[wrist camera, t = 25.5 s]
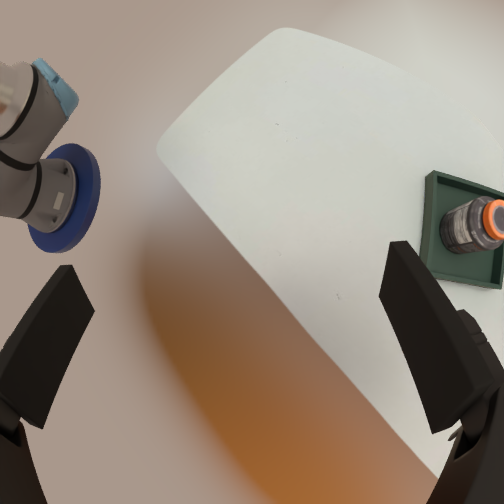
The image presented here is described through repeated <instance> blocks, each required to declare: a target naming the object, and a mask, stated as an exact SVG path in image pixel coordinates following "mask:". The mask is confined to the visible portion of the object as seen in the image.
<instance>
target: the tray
mask: <svg viewBox="0 0 504 504" xmlns="http://www.w3.org/2000/svg"><path fill="white" fill-rule="evenodd" d="M481 196H488V197H491V198H493V199H495V200H498V199H499V200H503V201H504V193H502V192H500V191H497V190H494V189H492V188H489V187H486V186H483V185H480V184H477V183H474V182H471V181H468V180H465V179H462V178H459V177H455V176H452V175H449V174H445V173H442V172H438V171H435V170H433V171H432V172H431V173H430V174H428V175H427V176H426V177H425V202H424V217H423V228H422V238H421V247H420V255H419V257H420V259H421V260H422V261H423V263H424V264H425V265H426V267H427V268H428V270H429V271H430V272H431V274H432V275H433V277H434V278H436V279H442V280H447V281H453V282H458V283H464V284H469V285H475V286H480V287H486V288H491V289H502V282H503V275H504V241H503V243H502V244H501V245H500V246H499V247H498V248H496V249H494V250H488V251H481V252H472V253H465V254H455V253H452V252H451V251H449V250H448V249H447V248H446V247H445V245H444V244H443V242H442V239H441V236H440V224H441V220H442V218H443V216H444V215H445V214H446V213H447V212H448V211H450V210H452V209H454V208H457V207H459V206H461V205H463V204H465V203H467V202H469V201H471V200H473V199H476V198H478V197H481Z"/></svg>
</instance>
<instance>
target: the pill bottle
mask: <svg viewBox="0 0 504 504" xmlns="http://www.w3.org/2000/svg"><path fill="white" fill-rule="evenodd" d="M440 236H441V239H442V242H443V244H444V245H445V247H446V248H447V249H448V250H449V251H451V252H452V253H455V254H465V253H472V252H481V251H488V250H494V249H496V248H498V247H499V246H500V245H501V244H502V243H503V241H504V201H503V200H499V199H498V200H495V199H493V198H491V197H488V196H481V197H478V198H476V199H473V200H471V201H469V202H467V203H465V204H463V205H461V206H459V207H457V208H454V209H452V210H450V211H448V212H447V213H446V214H445V215H444V216H443V218H442V220H441V224H440Z"/></svg>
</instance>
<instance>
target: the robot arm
mask: <svg viewBox="0 0 504 504" xmlns="http://www.w3.org/2000/svg"><path fill="white" fill-rule="evenodd" d="M78 101H79V98H78V95H77V94H76V93H75V91H74V90H73V89H72V88H71V87H70V86H69V85H68V84H67V83H66V82H65V81H64V80H63V79H62V78H61V77H60V76H59V75H58V74H57V73H56V72H55V71H54V70H53V69H52V68H51V67H50V66H49V65H48V64H47V63H46V62H45V61H44V60H43V59H42V58H38V59H37V60H36V61H34V62H33V63H32V65H30V64H28V63H26V62H19V63H16V64H14V65H12V66H8V65H6V64H4V63H2V62H0V216H5V217H11V218H17V219H22V220H23V221H25V222H26V223H28V224H29V225H31V226H32V227H34V228H35V229H37V230H38V231H40V232H44V233H55V232H57V231H59V230H60V229H62V228H63V227H64V226H65V224H66V223H67V222H68V220H69V219H70V217H71V215H72V213H73V210H74V208H75V205H76V202H77V197H78V191H79V178H78V173H77V170H76V168H75V166H74V165H73V164H72V163H71V162H69V161H66V160H64V159H59V158H56V159H40V157H41V156H42V154H43V153H44V151H45V150H46V149H47V147H48V145H49V144H50V143H51V141H52V140H53V139H54V137H55V136H56V135H57V133H58V132H59V131H60V129H61V128H62V127H63V125H64V124H65V123H66V122H67V121H68V119H69V117H70V115H71V114H72V112H73V111H74V109H75V108H76V107H77V105H78ZM379 298H380V300H381V302H382V305H383V307H384V309H385V311H386V313H387V316H388V318H389V320H390V322H391V325H392V327H393V329H394V332H395V334H396V336H397V339H398V341H399V343H400V346H401V348H402V351H403V353H404V356H405V358H406V361H407V363H408V366H409V368H410V371H411V374H412V376H413V379H414V382H415V384H416V387H417V390H418V393H419V396H420V399H421V401H422V404H423V407H424V410H425V413H426V416H427V420H428V423H429V426H430V429H431V432H432V434H434V433H437V432H440V431H442V430H445V429H448V428H450V427H452V426H453V425H454V424H455V423H456V422H457V421H458V420H459V419H460V421H461V424H462V426H461V427H459V428H458V429H457V430H456V431H455V432H454V433H453V434H452V435H451V436H450V437H449V439H448V441H451V440H452V439H454V438H455V437H456V439H455V441H454V444H453V447H452V449H451V452H450V454H449V457H448V459H447V462H446V464H445V466H444V469H443V471H442V473H441V475H440V477H439V480H438V482H437V484H436V486H435V488H434V490H433V492H432V494H431V496H430V498H429V499H428V501H427V503H426V504H504V369H503V367H502V365H501V363H500V361H499V359H498V358H497V356H496V354H495V352H494V350H493V349H492V347H491V345H490V343H489V342H487V338H486V336H485V335H484V333H482V332H481V331H482V330H481V328H480V327H479V325H478V323H477V322H476V320H475V319H474V318H473V317H472V316H471V315H470V314H469V313H467V312H466V311H465V310H464V309H463V310H458V311H456V310H455V308H454V306H453V305H452V303H451V302H450V300H449V299H448V297H447V296H446V294H445V293H444V291H443V290H442V288H441V287H440V285H439V284H438V282H437V281H436V279H435V278H434V277H433V275H432V274H431V272H430V271H429V270H428V268H427V267H426V265H425V264H424V263H423V261H422V260H421V259H420V257H419V256H418V255H417V253H416V252H415V251H414V249H413V248H412V247H411V245H410V244H409V243H408V242H407V241H395V242H390V245H389V251H388V256H387V261H386V266H385V271H384V275H383V280H382V284H381V289H380V293H379ZM94 312H95V310H94V308H93V307H92V305H91V303H90V301H89V299H88V297H87V295H86V293H85V291H84V289H83V287H82V285H81V283H80V281H79V279H78V276H77V275H76V272H75V270H74V268H73V266H72V265H60V266H59V268H58V269H57V270H56V271H55V273H54V274H53V275H52V277H51V278H50V279H49V281H48V282H47V283H46V285H45V286H44V287H43V289H42V290H41V291H40V293H39V294H38V296H37V297H36V298H35V300H34V301H33V303H32V304H31V306H30V307H29V308H28V310H27V311H26V313H25V314H24V316H23V317H22V319H21V321H20V322H19V323H18V325H17V327H16V328H15V330H14V331H13V333H12V334H11V336H10V337H9V338H8V339H7V341H6V343H5V345H4V346H3V349H2V350H1V352H0V504H47V501H46V499H45V496H44V493H43V491H42V489H41V485H40V483H39V480H38V476H37V473H36V470H35V467H34V464H33V461H32V457H31V453H30V450H29V446H28V442H27V438H26V433H25V429H24V426H23V424H22V423H21V422H20V421H19V420H20V418H21V417H22V418H23V419H24V420H26V421H27V422H28V423H29V424H30V425H33V426H35V427H38V428H40V429H43V427H44V425H45V422H46V419H47V416H48V414H49V411H50V408H51V405H52V403H53V401H54V398H55V396H56V393H57V391H58V388H59V385H60V383H61V381H62V379H63V376H64V374H65V372H66V370H67V367H68V365H69V363H70V361H71V358H72V356H73V354H74V352H75V350H76V348H77V346H78V343H79V342H80V339H81V337H82V335H83V333H84V331H85V329H86V327H87V325H88V323H89V322H90V320H91V318H92V316H93V314H94Z"/></svg>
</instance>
